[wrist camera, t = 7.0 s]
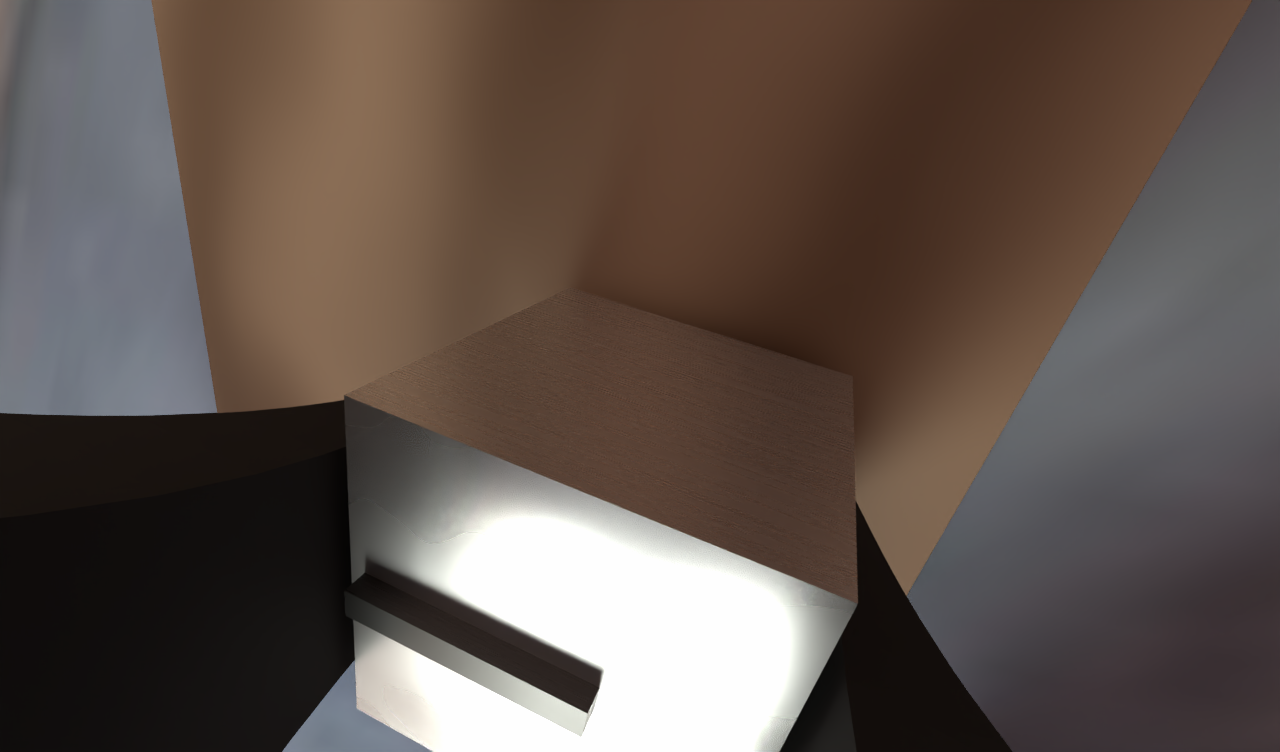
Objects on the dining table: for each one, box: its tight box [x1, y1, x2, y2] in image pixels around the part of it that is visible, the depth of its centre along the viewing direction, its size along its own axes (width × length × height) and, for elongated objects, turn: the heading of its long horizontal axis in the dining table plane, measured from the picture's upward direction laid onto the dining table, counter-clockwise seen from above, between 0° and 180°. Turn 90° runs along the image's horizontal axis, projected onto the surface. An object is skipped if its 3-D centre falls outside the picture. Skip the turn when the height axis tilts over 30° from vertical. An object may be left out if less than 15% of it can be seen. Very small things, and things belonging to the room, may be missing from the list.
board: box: [152, 0, 1252, 596], centre depth 9 cm, size 18×16×6 cm
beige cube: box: [344, 287, 858, 752], centre depth 8 cm, size 5×5×5 cm
